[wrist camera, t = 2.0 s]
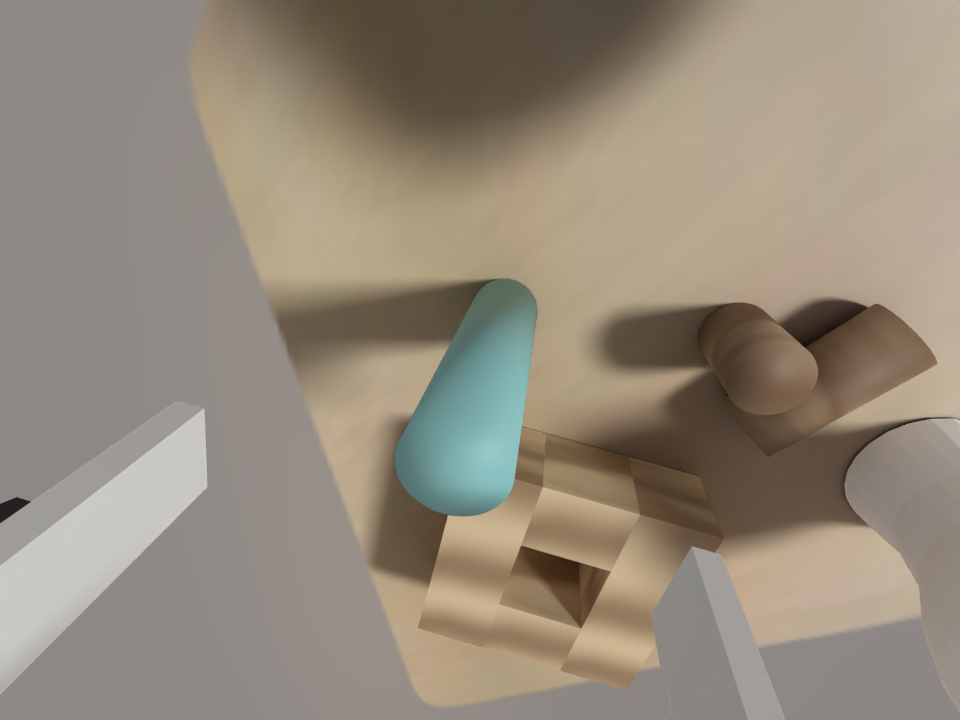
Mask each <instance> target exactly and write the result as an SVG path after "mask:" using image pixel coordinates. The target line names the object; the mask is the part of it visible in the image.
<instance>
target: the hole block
mask: <svg viewBox="0 0 960 720" xmlns="http://www.w3.org/2000/svg"><path fill="white" fill-rule="evenodd" d="M723 539H724V538H723V536H722V533H721V530H720V528H719V525H718V523H717V520H716V518H715V515H714V513H713V510H712V508H711V505H710V503H709V500H708V497H707V495H706V492H705V490H704V487H703V485H702V482H701V480H700V477H699V476H696V475H693V474H689V473H685V472H682V471H678V470H675V469H671V468H668V467H664V466H661V465H657V464H653V463H650V462H646V461H643V460H639V459H636V458H632V457H628V456H625V455H621V454H618V453H614V452H611V451H607V450H604V449H600V448H596V447H593V446H589V445H586V444H582V443H579V442H575V441H572V440H568V439H564V438H561V437H557V436H554V435H550V434H547V433H543V432H539V431H536V430H532V429H529V428H525V427H522V428H521V435H520V442H519V449H518V457H517V464H516V471H515V478H514V483H513V487H512V489H511V491H510V493H509V495H508V496H507V498H506V499H505V500H504V501H503V502H502V503H501V504H500V505H499V506H497V507H496V508H494V509H493V510H491V511H488V512H486V513H483V514H480V515H475V516H466V517H460V516H450V515H448V517H447V521H446V525H445V529H444V532H443V536H442V540H441V544H440V548H439V551H438V555H437V559H436V563H435V566H434V570H433V574H432V578H431V581H430V585H429V589H428V593H427V596H426V600H425V604H424V608H423V611H422V615H421V619H420V623H419V626H418V628H420V629H423V630H426V631H430V632H433V633H436V634H440V635H443V636H446V637H450V638H453V639H456V640H460V641H463V642H466V643H470V644H473V645H476V646H480V647H483V648H486V649H490V650H493V651H496V652H500V653H503V654H506V655H510V656H513V657H516V658H520V659H523V660H526V661H530V662H533V663H536V664H540V665H543V666H546V667H550V668H553V669H556V670H560V671H563V672H566V673H570V674H573V675H576V676H580V677H583V678H586V679H590V680H593V681H596V682H600V683H603V684H606V685H610V686H613V687H616V688H620V689H623V690H627V688H628V687H629V685H630V684H631V682H632V681H633V679H634V677H635V676H636V675H637V673H638V671H639V670H640V668H641V667H642V665H643V664H644V662H645V660H646V659H647V657H648V656H649V654H650V653H651V651H652V650H653V648H654V646H655V645H656V639H655V634H654V629H653V624H652V618H651V614H652V613H653V611H654V609H655V607H656V606H657V604H658V602H659V601H660V599H661V597H662V596H663V594H664V592H665V591H666V589H667V587H668V586H669V584H670V582H671V581H672V579H673V577H674V576H675V574H676V572H677V571H678V569H679V567H680V566H681V564H682V562H683V561H684V559H685V557H686V556H687V554H688V552H689V550H690V549H691V547H692V546H693V547H696V548H700V549H703V550H707V551H710V552H714V553H715V551H716V550H717V548H718V547H719V545H720V544H721V542H722V540H723ZM522 546H525V547H522ZM526 547H528V548H526ZM529 548H532V549H529ZM533 549H535V550H533ZM536 550H538V551H536ZM540 551H542V552H540ZM543 552H545V553H543ZM547 553H549V554H547ZM550 554H552V555H550ZM553 555H556V556H553ZM557 556H559V557H557ZM560 557H563V558H560ZM564 558H566V559H564ZM567 559H569V560H567ZM571 560H573V561H571ZM574 561H576V562H574ZM578 562H579V563H578Z"/></svg>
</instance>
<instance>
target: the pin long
mask: <svg viewBox="0 0 960 720" xmlns="http://www.w3.org/2000/svg"><path fill="white" fill-rule="evenodd" d="M536 319H537V304H536V300H535V298H534V296H533V294H532V293H531V291H530V290H529V289H528V288H527V287H526V286H524V285H523V284H521V283H519V282H517V281H515V280H511V279H497V280H493V281H491V282H488V283H487V284H485V285H484V286H483V287H482V288H481V289H480V290H479V291H478V292H477V294H476V296H475V298H474V299H473V301H472V303H471V305H470V307H469V309H468V311H467V313H466V315H465V317H464V318H463V320H462V322H461V324H460V326H459V328H458V330H457V332H456V334H455V336H454V338H453V339H452V341H451V343H450V345H449V347H448V349H447V351H446V353H445V355H444V357H443V358H442V360H441V362H440V364H439V366H438V368H437V370H436V372H435V374H434V376H433V378H432V379H431V381H430V383H429V385H428V387H427V389H426V391H425V393H424V395H423V397H422V398H421V400H420V402H419V404H418V406H417V408H416V410H415V412H414V414H413V416H412V417H411V419H410V421H409V423H408V425H407V427H406V429H405V431H404V433H403V435H402V437H401V438H400V440H399V442H398V445H397V447H396V451H395V458H394V461H395V469H396V473H397V476H398V478H399V480H400V482H401V484H402V485H403V487H404V488H405V490H406V491H407V492H408V493H409V494H410V495H411V496H412V497H413V498H414V499H415V500H416V501H418V502H419V503H421V504H422V505H424V506H426V507H427V508H429V509H431V510H434V511H436V512H439V513H442V514H446V515H450V516H460V517H466V516H475V515H480V514H483V513H486V512H488V511H491V510H493V509H494V508H496V507H497V506H499V505H500V504H501V503H502V502H503V501H504V500H505V499H506V498H507V496H508V495H509V493H510V491H511V489H512V487H513V483H514V478H515V471H516V464H517V457H518V449H519V442H520V435H521V428H522V420H523V413H524V406H525V399H526V391H527V384H528V377H529V370H530V362H531V355H532V348H533V341H534V333H535V326H536Z"/></svg>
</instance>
